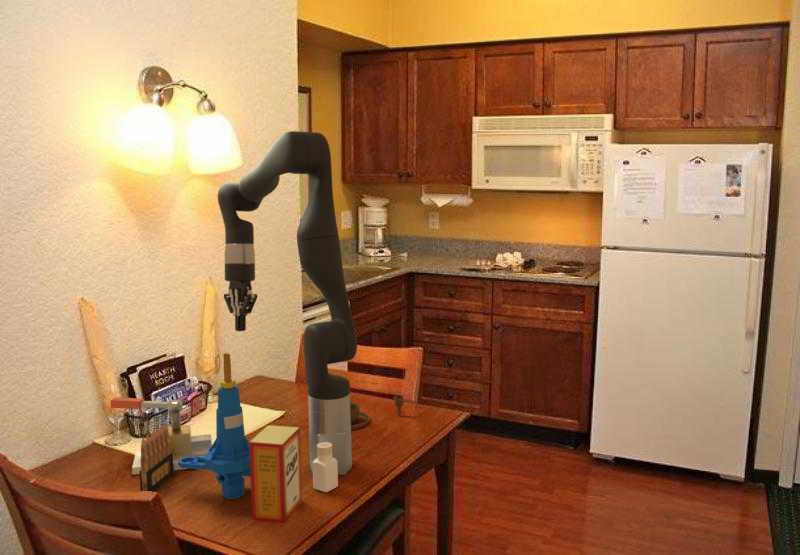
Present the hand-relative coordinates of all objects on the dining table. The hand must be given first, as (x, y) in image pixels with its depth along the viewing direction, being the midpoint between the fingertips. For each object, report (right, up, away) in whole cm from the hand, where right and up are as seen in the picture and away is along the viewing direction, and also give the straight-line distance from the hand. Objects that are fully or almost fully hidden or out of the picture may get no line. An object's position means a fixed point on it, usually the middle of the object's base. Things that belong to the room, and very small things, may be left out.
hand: (240, 330), depth 186 cm
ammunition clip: (-11, -31, -29) cm, 44 cm away
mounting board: (-10, -29, -18) cm, 35 cm away
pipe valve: (-10, -27, -18) cm, 34 cm away
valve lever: (-17, -16, -19) cm, 30 cm away
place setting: (+30, -25, +6) cm, 40 cm away
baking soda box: (+16, -33, -41) cm, 55 cm away
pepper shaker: (+25, -31, -31) cm, 51 cm away
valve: (+3, -31, -33) cm, 46 cm away
